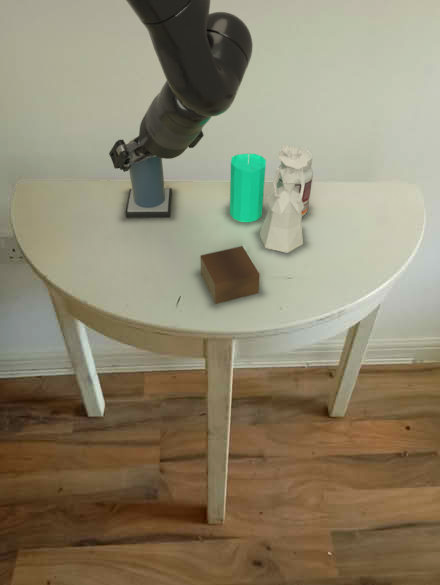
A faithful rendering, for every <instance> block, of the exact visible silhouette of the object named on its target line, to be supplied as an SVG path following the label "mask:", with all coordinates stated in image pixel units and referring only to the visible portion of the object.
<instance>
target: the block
mask: <svg viewBox="0 0 440 585" xmlns="http://www.w3.org/2000/svg"><path fill="white" fill-rule="evenodd" d="M199 258H200V275H201V277H202V279H203V282H204V284H205V286H206V288H207V290H208V292H209V294H210V296H211V298H212V300H213V302H214V304H215V305H217V304H222V303H225V302H229V301H232V300H237V299H242V298H244V297H248V296H252V295H256V294H258V293H259V291H260V290H259V289H260V279H261V278H260V277H261V275H260V272H259V271H258V269H257V267H256V266H255V264H254V262H253V260H252V259H251V257H250V256H249V254H248V253H247V250H246V249H245V248H244V246H243V245H239V246H235V247H231V248H227V249H222V250H217V251H214V252H210V253H206V254H201V255H200V256H199Z"/></svg>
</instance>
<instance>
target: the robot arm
mask: <svg viewBox="0 0 440 585" xmlns="http://www.w3.org/2000/svg"><path fill="white" fill-rule="evenodd" d="M125 1H126V3H127V4H128V6H129V7H130V8H131V10H132V12H133V13H135V15H136V16H137V18H138V19H139V20H140V22H141V23H142V25H143V26H144V27H145V28H146V30H147V32H148V35H149V38H150V41H151V43H152V47H153V50H154V52H155V54H156V57H157V59H158V62H159V65H160V68H161V69H162V72H163V74H164V77H165V79H166V81H165V82H164V84H163V86H162V87H161V89H160V91H159V92H158V93H157V94H156V96H155V97H154V98H153V99H152V101H151V103H150V105H149V106H148V109H147V111H145V114H144V116H143V117H142V119H141V122H140V125H139V133H138V136H137V137H134V138H135V139H133V138H132V139H133V140H131V139H130V140H131V141H130V140H129V141H130V142H129V141H128V142H129V143H128V142H127V143H126V142H125V141H124V139H118V140H117V141H115V143H114V144H113V146H112V147H111V150H109V152H108V155H109V157H110V159H111V162H112V164H113V168H114V169H115V170H116V169H119V170H120V171H122V172H123V173H125V172H129V169H130V167H131V165H132V164H134V163H142V162H144V161H146V160H148V159H149V158H151V157H156V156H157V157H160V158H162V159H165V160H168V159H169V160H171V159H175V158H177V157H179V156H181V155H182V154H184V153H185V151H186V150H187V149H193V148H195V147H196V146H197V145H198V144H199V142H200V141H201V140H202V138H203V137H204V136H205V135H204V132H203V128H204V127H205V125H206V124H207V123H209V121H210V120H211V118H213V117H217V116H220V115H222V114H224V113H226V112H227V111H228V110H229V108H231V106H232V104H233V103H234V101H235V99H236V97H237V94H238V92H239V90H240V87H241V84H242V82H243V79H244V77H245V74H246V71H247V69H248V66H249V64H250V62H251V60H252V55H253V48H254V47H253V46H254V44H253V39H252V34H251V32H250V30H249V27H248V26H247V25H246V23H245V22H244V21H243V20H242V19H241V18H239V16H236V15H235V14H232V13H229V12H226V11H214V12H211V13H210V10H211V0H125ZM130 152H131V154H132V159H130V155H129V153H130ZM140 153H141V154H144V156H142V157H141V155H140Z"/></svg>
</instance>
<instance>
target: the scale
mask: <svg viewBox="0 0 440 585" xmlns="http://www.w3.org/2000/svg"><path fill="white" fill-rule="evenodd" d="M164 188H165V201H164V202H163V203H162V204H161V205H159V206H156V207H152V208H144V207H140V206H138V205H137V204H135V202H134V199H133V192H132V187H131V188H129V191H128V196H127V202H126V207H125V213H124V215H125V218H126V219H152V218H155V219H156V218H160V219H161V218H165V219H166V218H171V211H172V201H173V200H172V198H173V188H171V187H164Z"/></svg>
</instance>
